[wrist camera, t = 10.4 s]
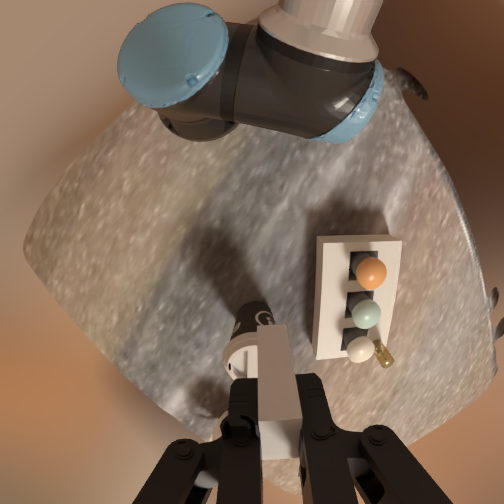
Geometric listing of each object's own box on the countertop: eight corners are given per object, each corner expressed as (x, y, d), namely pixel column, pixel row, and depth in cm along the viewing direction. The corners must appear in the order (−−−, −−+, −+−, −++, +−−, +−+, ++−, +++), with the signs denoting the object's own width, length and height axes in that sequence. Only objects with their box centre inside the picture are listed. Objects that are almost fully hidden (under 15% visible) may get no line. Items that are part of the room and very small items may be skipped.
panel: (316, 235, 48) (323, 243, 43) (389, 234, 48) (402, 240, 43) (311, 345, 54) (316, 359, 49) (376, 338, 54) (384, 351, 49)
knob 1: (341, 244, 49) (359, 260, 40) (366, 243, 49) (388, 258, 40) (340, 270, 50) (357, 290, 41) (364, 268, 50) (384, 288, 41)
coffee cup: (241, 286, 51) (236, 330, 36) (289, 305, 52) (301, 353, 37) (221, 328, 53) (211, 379, 39) (267, 345, 54) (271, 397, 40)
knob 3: (336, 315, 52) (350, 341, 44) (360, 313, 52) (376, 338, 44) (334, 336, 54) (346, 364, 45) (357, 334, 54) (372, 360, 45)
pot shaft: (371, 340, 48) (382, 358, 43) (382, 338, 48) (394, 356, 43) (369, 350, 49) (380, 369, 43) (380, 348, 49) (392, 366, 43)
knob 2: (339, 281, 51) (355, 303, 42) (363, 280, 50) (383, 301, 42) (337, 305, 52) (352, 330, 43) (361, 303, 52) (378, 327, 43)
